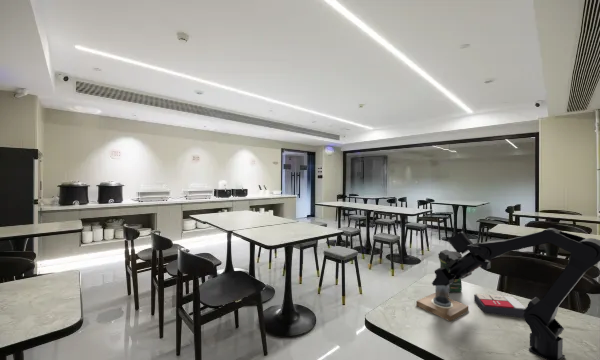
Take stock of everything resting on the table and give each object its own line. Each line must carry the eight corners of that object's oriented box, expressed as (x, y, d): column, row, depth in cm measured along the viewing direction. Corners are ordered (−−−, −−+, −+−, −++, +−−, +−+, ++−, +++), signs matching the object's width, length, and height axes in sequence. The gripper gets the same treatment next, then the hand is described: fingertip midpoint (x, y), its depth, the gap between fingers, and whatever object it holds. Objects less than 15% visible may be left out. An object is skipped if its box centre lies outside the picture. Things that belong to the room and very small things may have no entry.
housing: (454, 307, 103) (454, 275, 103) (438, 306, 103) (438, 275, 103) (445, 299, 109) (445, 269, 109) (430, 299, 109) (430, 269, 109)
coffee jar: (443, 292, 120) (443, 253, 120) (436, 285, 128) (436, 248, 128) (465, 293, 119) (465, 254, 119) (456, 286, 127) (456, 249, 127)
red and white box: (473, 292, 113) (513, 295, 109) (474, 302, 113) (514, 305, 109) (483, 304, 103) (528, 308, 98) (484, 315, 103) (529, 319, 98)
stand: (468, 310, 104) (468, 305, 104) (450, 321, 96) (450, 315, 96) (434, 297, 116) (434, 292, 116) (416, 305, 108) (416, 300, 108)
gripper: (464, 242, 107) (437, 260, 117) (439, 248, 97) (413, 268, 107) (485, 266, 101) (455, 283, 110) (461, 276, 91) (431, 294, 100)
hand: (438, 281), depth 107 cm, fingers open, 9 cm apart
